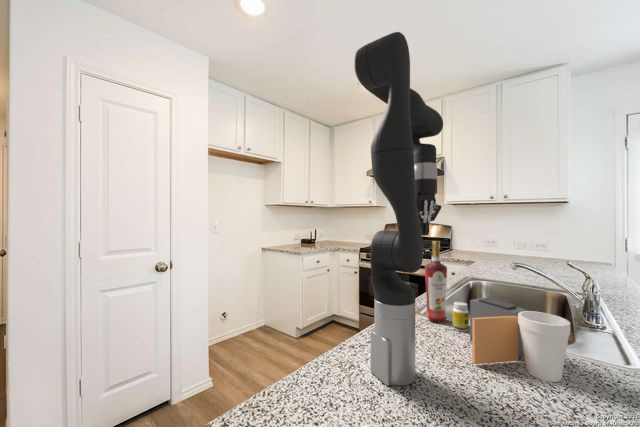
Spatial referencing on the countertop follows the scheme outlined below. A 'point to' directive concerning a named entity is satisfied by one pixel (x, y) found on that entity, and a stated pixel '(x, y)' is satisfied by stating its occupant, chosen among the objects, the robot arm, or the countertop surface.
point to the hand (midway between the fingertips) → (424, 235)
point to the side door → (494, 339)
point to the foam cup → (544, 343)
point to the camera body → (495, 314)
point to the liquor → (436, 286)
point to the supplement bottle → (460, 317)
